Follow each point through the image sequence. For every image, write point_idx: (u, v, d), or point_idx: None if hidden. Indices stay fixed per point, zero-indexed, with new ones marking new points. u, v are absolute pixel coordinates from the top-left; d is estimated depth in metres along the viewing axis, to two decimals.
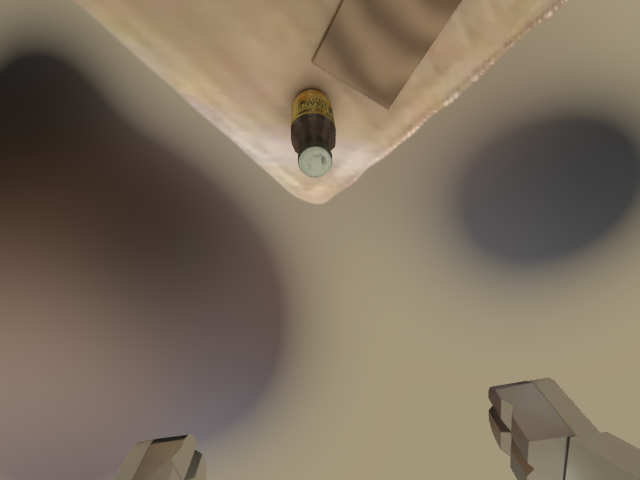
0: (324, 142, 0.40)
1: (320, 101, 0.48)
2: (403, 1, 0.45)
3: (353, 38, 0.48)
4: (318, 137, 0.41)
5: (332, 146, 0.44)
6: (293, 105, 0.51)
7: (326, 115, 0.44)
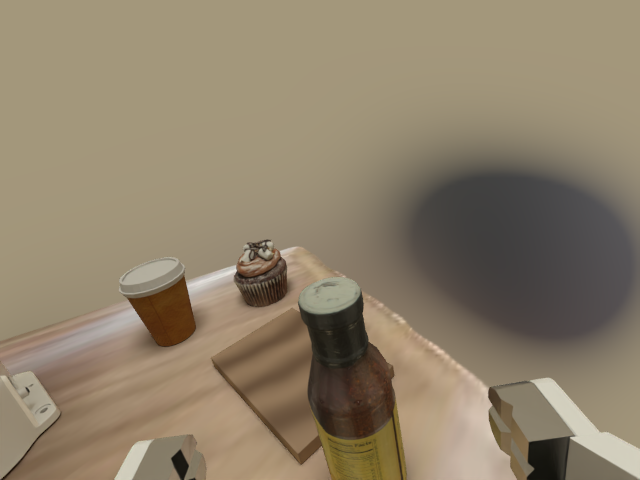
0: None
1: None
2: (283, 352, 0.44)
3: (293, 397, 0.37)
4: None
5: None
6: None
7: None
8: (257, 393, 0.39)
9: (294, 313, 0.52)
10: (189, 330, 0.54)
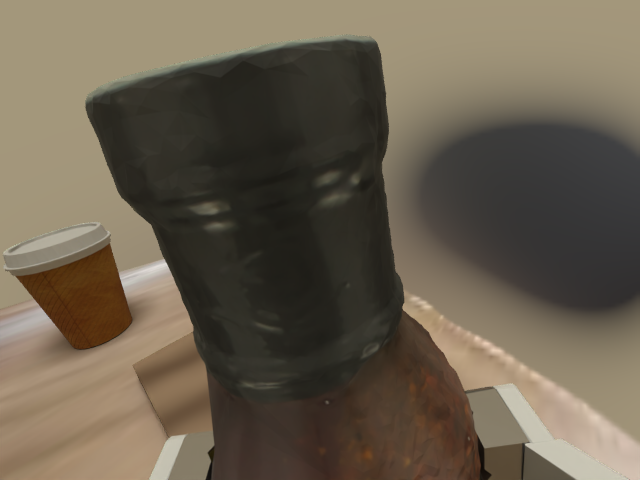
0: None
1: None
2: None
3: None
4: None
5: None
6: None
7: None
8: (186, 426, 0.22)
9: None
10: (118, 325, 0.38)
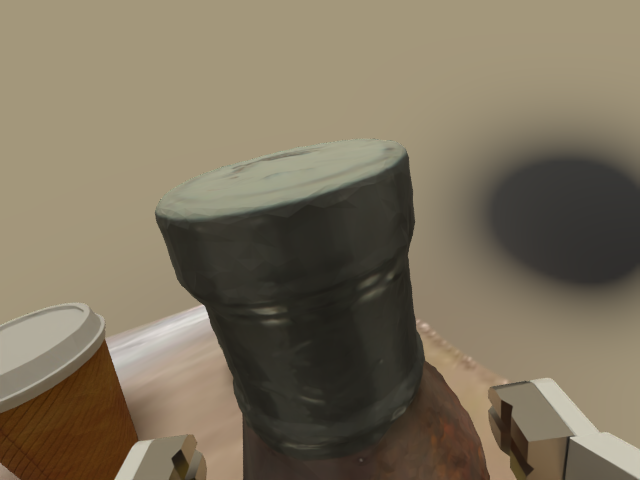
0: None
1: None
2: None
3: None
4: None
5: None
6: None
7: None
8: None
9: None
10: (118, 464, 0.25)
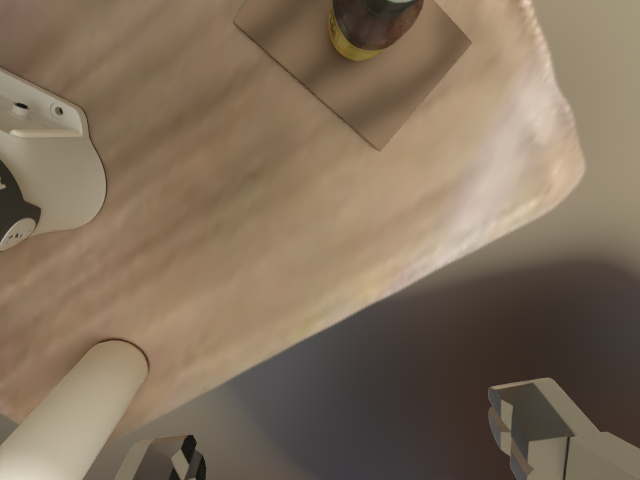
0: None
1: None
2: None
3: (364, 91, 0.36)
4: None
5: None
6: (342, 53, 0.32)
7: None
8: (322, 86, 0.36)
9: None
10: None
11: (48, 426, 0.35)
